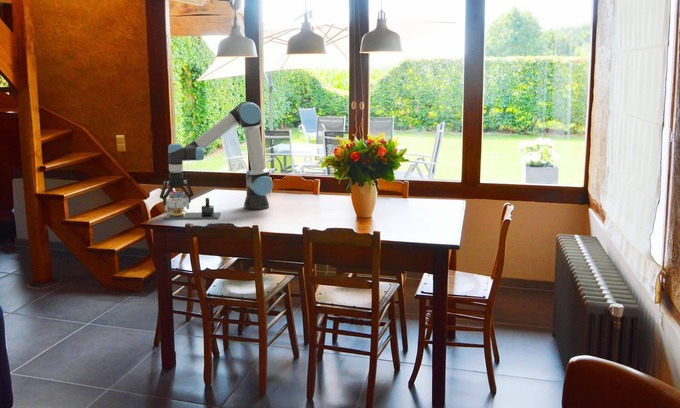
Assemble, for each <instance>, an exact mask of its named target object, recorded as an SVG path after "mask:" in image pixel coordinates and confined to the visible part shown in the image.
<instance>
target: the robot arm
mask: <svg viewBox="0 0 680 408" xmlns="http://www.w3.org/2000/svg"><path fill="white" fill-rule="evenodd" d="M261 116H262V111H261V109H260V106H259V105H257V104H256V103H254V102H251V101H242V102H240V103H238V104H237V105H236V106H235V107H233V109H231V110H230V111H229V112H228V114H227V116H225V117H224V118H222V119H221V120H220V121H218V122H217V123H216V124H214V125H213V126H211V127H210V128H209V129H208V130H206V131H205V132H204V133H202V134H201V135H200V136H198V137H196V139H194V140H193V141H191V142H190V143H188V144H186V145H185V146H184V147H183V145H182V143H169V145H168V146H167V147H168V151H167V154H168V171H169V172H168V180H167V181H166V180H163V185H162V188H161V191H160V194H159V198H160V199H162V203H163V205H164V210H165V212H168V211H169V210H168V209H169V207H168V202H167V199H168V196H169V193H170V192H172V190H173V189H181V190H182V192H184V195H185V196H186V197H185V198H186V199H188V206H186V207H185V208H186V209H188V210H189V209H190V203H191V198H192V197H194V192H193V190H192V187H191V186H190V181H189V179H184V172H183V171H184V169H183V167H184V166H183V164H184V163H183V162H186V161H203V160H204V159H205V149H207V148H208V147H209V146H211V145H212V144H214V143H215V142H217V140H219V139H220V138H222V137H223V136H224V135H225V134H227V133H229V131H231V130H232V129H233V128H235V127H239V126H240V127H241V129H243V130H244V135H245V141H246V147H247V153H248V158H249V164H250V170H247V171H246V175H245V178H246V184H245V185H246V196H245V200H244V203H243V208H244V210H250V211H251V210H252V211H258V210H260V211H261V210H266V209H269V208H270V204H269V200H268V197H267V195H269V194H270V193H271V192H272V190H273V187H274V183H273V180H272V178H271V176H270V169H268V168H266V166H267V165H266V160H265V154H264V149H263V142H262V136H261V131H260V130H261V129H260V127H261V126H262V120H261V118H262V117H261ZM184 184H185V185H186V188H187V190H188V191H187V190H186V188H185V187H184ZM168 185H169V186H168ZM167 186H168V189H167Z"/></svg>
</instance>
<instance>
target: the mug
mask: <svg viewBox="0 0 680 408" xmlns="http://www.w3.org/2000/svg"><path fill="white" fill-rule="evenodd" d="M168 196H169V199H171V198H186V197H185V196H186V194H185V193H184V191H171V192H170V193H169V195H168ZM181 210H183V211H185V207H182V208H181ZM169 211H174V208H169Z"/></svg>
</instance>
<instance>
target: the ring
mask: <svg viewBox="0 0 680 408" xmlns="http://www.w3.org/2000/svg"><path fill="white" fill-rule="evenodd" d="M166 199H167V202H168V209H170V208H182V207H184V208H186V206H188V199H186V197H184V198H171V199H170V198H166ZM175 200H179V201H175Z"/></svg>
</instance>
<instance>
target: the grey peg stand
mask: <svg viewBox="0 0 680 408" xmlns="http://www.w3.org/2000/svg"><path fill="white" fill-rule="evenodd" d="M175 201H179V200H175ZM214 209H215V206H214V205H210V197H205V205H202V206H201V212H187V211H186V210H181V208H174V211H171V210H169V212H167V213H166V214H165V216H164V217H163V220H171V221H172V220H219V219H220V216H221V214H222V213H221V212H219V211H218V212H217V211H216V212H215V210H214Z"/></svg>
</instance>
